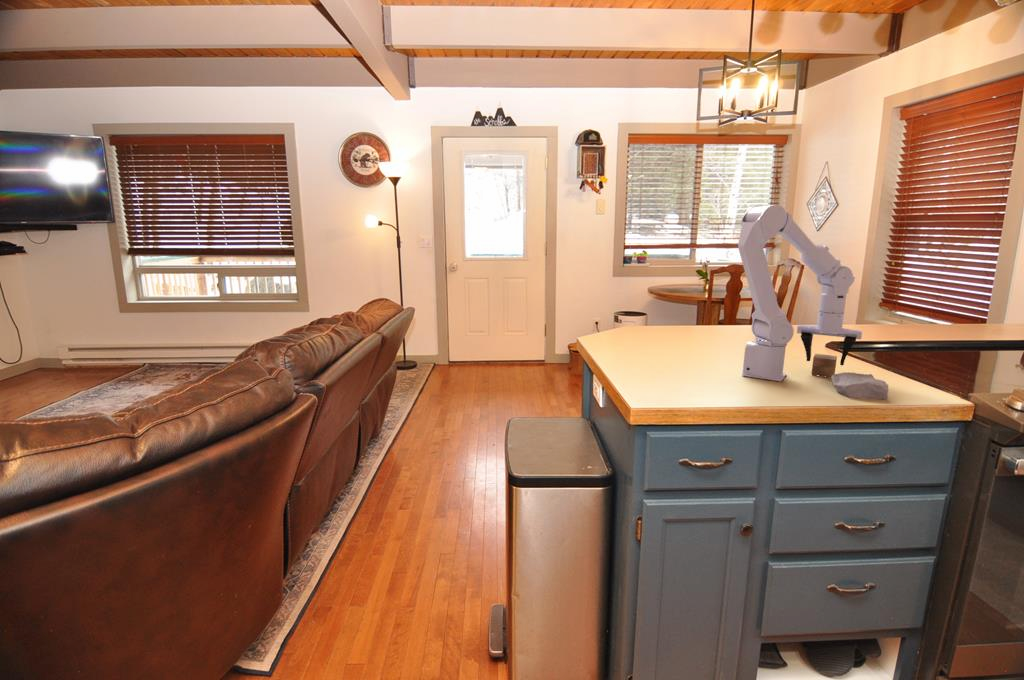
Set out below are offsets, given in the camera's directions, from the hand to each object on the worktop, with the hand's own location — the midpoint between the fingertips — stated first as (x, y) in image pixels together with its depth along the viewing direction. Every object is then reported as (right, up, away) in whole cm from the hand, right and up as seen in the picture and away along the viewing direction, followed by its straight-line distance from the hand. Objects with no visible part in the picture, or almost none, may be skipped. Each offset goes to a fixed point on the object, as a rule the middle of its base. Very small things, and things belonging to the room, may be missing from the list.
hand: (824, 362), depth 140 cm
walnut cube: (0, -3, +1) cm, 4 cm away
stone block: (-1, -7, -13) cm, 15 cm away
